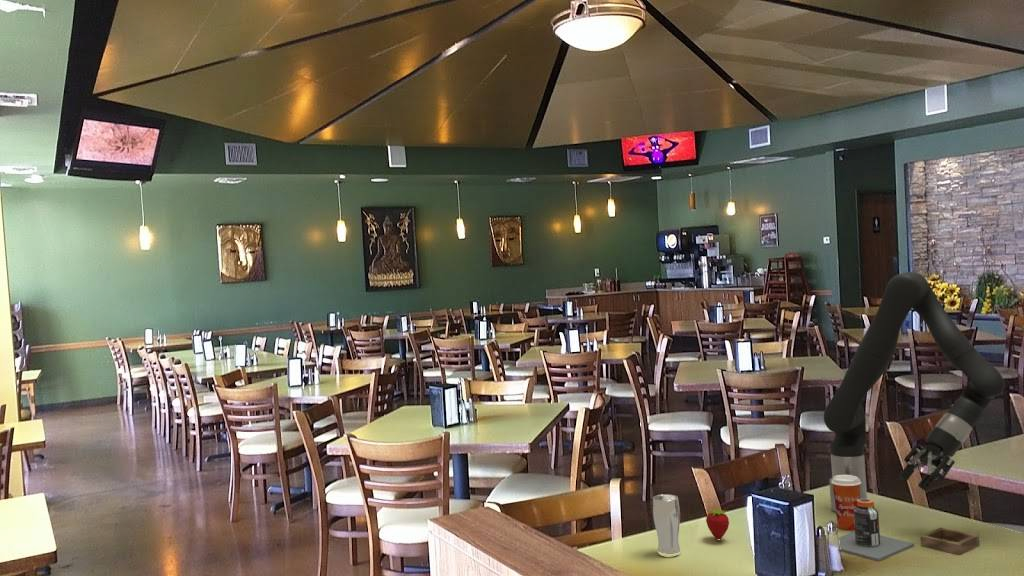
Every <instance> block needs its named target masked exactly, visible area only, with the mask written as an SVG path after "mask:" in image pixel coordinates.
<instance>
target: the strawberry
mask: <svg viewBox="0 0 1024 576" xmlns="http://www.w3.org/2000/svg"><path fill="white" fill-rule="evenodd" d="M720 505H721V504H720V503H719V504H718V506H717V507H716V509H713V508H712V509H711V510H709V511H708V514H707V515H706V519H705V521H706V525H707V528H708V530H709V532H710V533H711V534H712V535H713V537H714V538H715V540H716V539H721V540H722V539H723V537H724V536H725V534H726V532H727V530H728V529H729V526H730V520H729V517H728V516H727V514H726V513H727V512H729V510H720V509H718V508H719V507H720Z"/></svg>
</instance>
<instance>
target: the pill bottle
mask: <svg viewBox="0 0 1024 576" xmlns="http://www.w3.org/2000/svg"><path fill="white" fill-rule="evenodd" d="M874 502H875V501H874V500H873V499H870V498H867V499H858V500H857V505H858V507H856V508H855V509H854V525H855V530H854V531H855V540H856V543H857V544H859V545H862V546H877V545H879V544H880V535H881V534H880V520H879V519H880V518H879V517H880V516H879V510H878V509H877V508H875V503H874Z"/></svg>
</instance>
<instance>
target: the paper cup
mask: <svg viewBox="0 0 1024 576" xmlns="http://www.w3.org/2000/svg"><path fill="white" fill-rule="evenodd" d="M831 483H833V491H834V499H835V507H836V512H835V513H836V522H837V527H838V528H839V529H840V530H842V529H844V530H843V531H855V525H854V509H855V508H856V507H858V505H857V500H858V499H860V484H861V481H860V479H858V477H856V476H853V475H836V476H834V477H833V479H832V481H831Z"/></svg>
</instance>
